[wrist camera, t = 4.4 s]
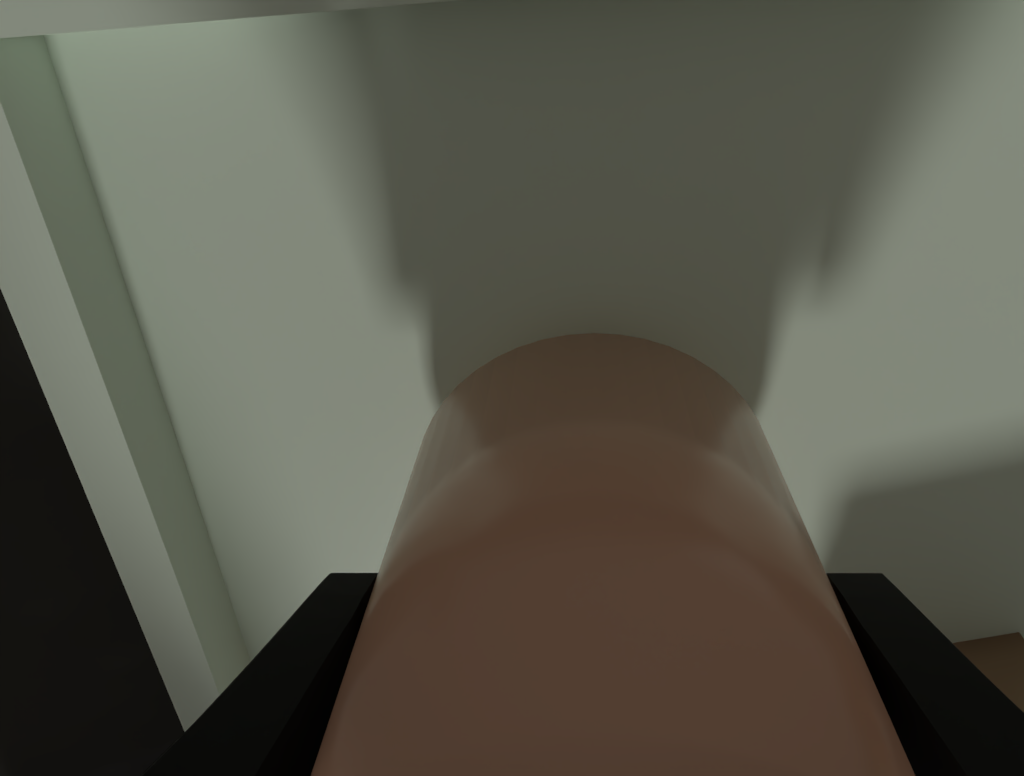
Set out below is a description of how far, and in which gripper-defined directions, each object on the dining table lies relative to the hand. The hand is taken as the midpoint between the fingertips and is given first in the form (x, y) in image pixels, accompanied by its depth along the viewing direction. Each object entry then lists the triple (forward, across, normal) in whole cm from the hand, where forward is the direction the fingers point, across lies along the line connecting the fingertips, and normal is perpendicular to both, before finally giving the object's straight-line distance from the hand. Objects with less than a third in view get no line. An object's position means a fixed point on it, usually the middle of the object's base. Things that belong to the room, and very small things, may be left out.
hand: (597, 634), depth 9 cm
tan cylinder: (+2, 0, 0) cm, 2 cm away
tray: (+4, -1, +1) cm, 4 cm away
